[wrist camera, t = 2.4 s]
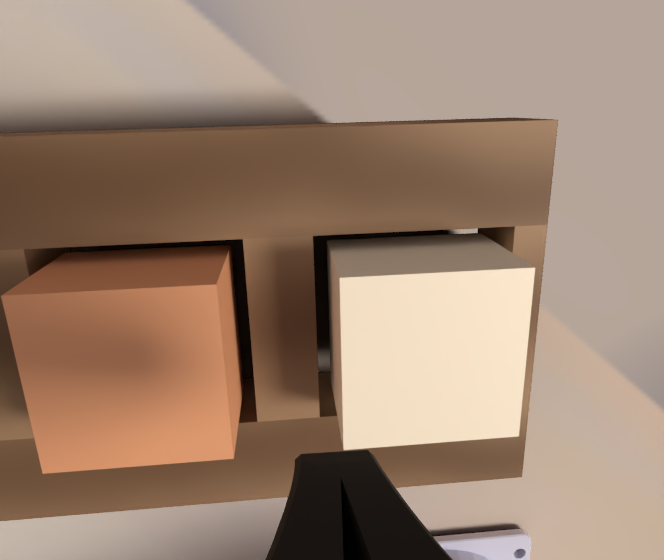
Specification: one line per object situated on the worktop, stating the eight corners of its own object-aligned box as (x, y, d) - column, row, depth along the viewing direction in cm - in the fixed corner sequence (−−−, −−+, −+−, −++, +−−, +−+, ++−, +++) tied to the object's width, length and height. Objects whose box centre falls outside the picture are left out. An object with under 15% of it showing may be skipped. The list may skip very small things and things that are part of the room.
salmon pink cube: (243, 387, 18) (233, 458, 14) (92, 397, 18) (42, 473, 14) (230, 245, 17) (216, 284, 13) (65, 252, 16) (0, 295, 12)
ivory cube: (471, 371, 19) (518, 436, 15) (330, 380, 18) (343, 450, 15) (480, 233, 17) (535, 267, 13) (326, 240, 17) (339, 277, 13)
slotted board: (489, 427, 21) (521, 477, 19) (-143, 476, 20) (-215, 539, 17) (513, 117, 18) (558, 119, 15) (-266, 140, 16) (-385, 148, 13)
